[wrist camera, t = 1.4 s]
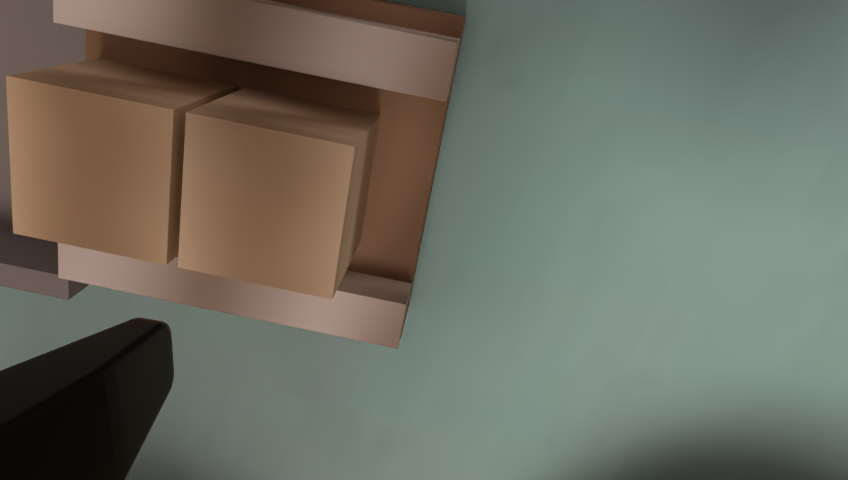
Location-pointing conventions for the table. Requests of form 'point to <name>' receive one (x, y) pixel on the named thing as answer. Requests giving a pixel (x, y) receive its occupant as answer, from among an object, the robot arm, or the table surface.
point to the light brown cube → (102, 155)
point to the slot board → (308, 80)
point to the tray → (4, 55)
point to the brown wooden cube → (275, 190)
